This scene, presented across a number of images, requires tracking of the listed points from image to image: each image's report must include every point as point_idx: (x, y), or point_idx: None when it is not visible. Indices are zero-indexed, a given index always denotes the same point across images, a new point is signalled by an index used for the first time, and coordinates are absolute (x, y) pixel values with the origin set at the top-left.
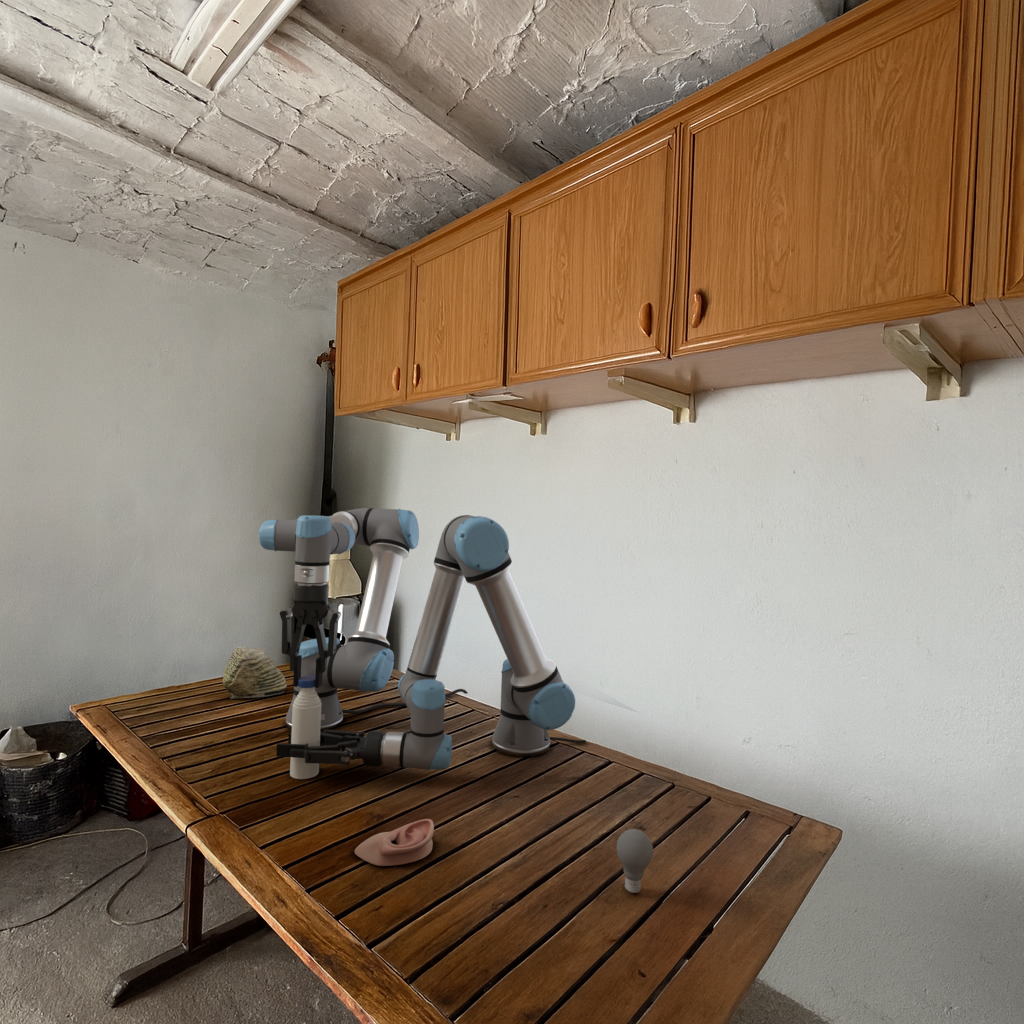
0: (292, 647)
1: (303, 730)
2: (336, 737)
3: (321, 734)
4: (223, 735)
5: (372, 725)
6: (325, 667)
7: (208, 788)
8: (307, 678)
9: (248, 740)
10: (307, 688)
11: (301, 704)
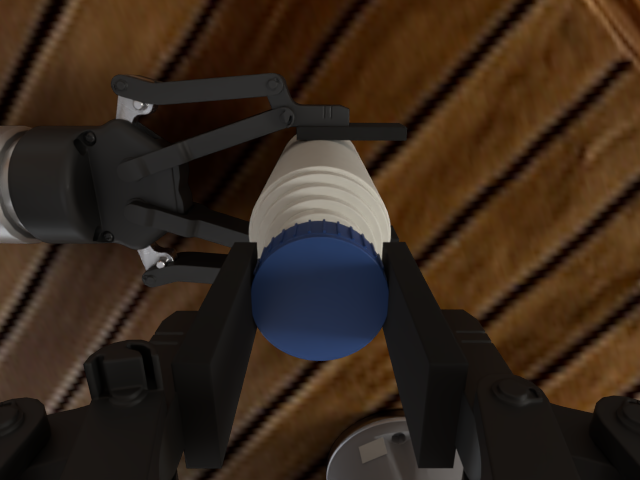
0: (560, 475)
1: (311, 148)
2: (220, 226)
3: None
4: (612, 370)
5: (245, 466)
6: (155, 343)
7: (562, 33)
8: (321, 296)
9: (537, 348)
10: None
11: (329, 181)
